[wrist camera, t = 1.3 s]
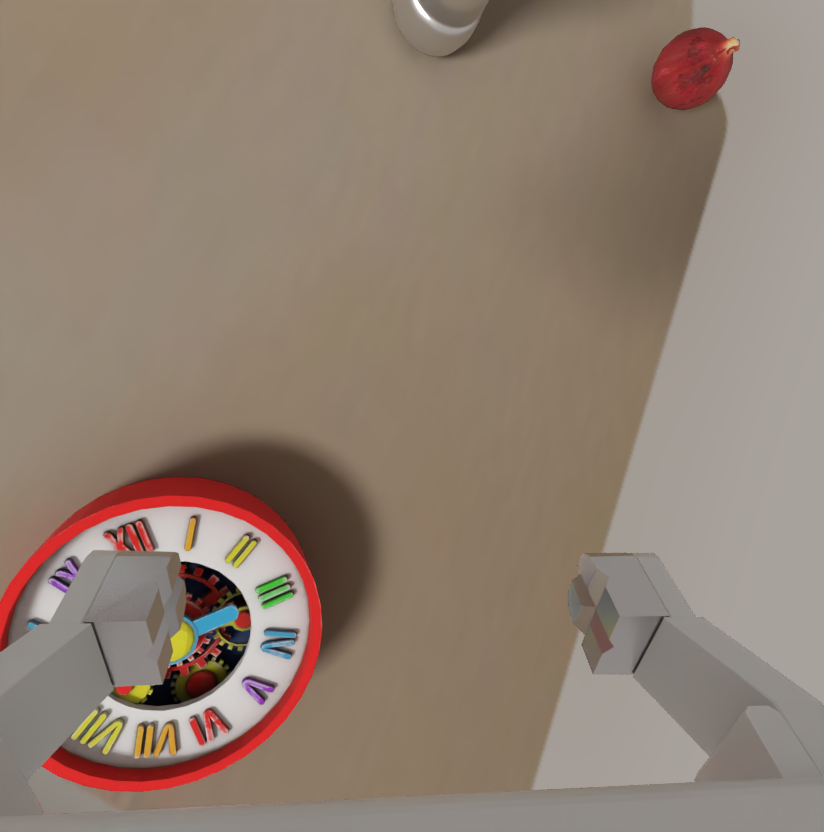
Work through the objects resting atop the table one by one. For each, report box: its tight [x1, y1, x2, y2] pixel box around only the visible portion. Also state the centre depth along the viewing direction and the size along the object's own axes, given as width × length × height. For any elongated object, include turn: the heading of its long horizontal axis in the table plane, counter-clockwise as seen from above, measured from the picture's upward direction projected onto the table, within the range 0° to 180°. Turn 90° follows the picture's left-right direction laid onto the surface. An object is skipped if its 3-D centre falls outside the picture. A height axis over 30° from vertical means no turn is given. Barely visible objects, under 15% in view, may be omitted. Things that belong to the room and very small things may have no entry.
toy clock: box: [0, 477, 322, 792], centre depth 38 cm, size 20×6×20 cm
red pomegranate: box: [651, 28, 740, 110], centre depth 46 cm, size 6×6×8 cm
